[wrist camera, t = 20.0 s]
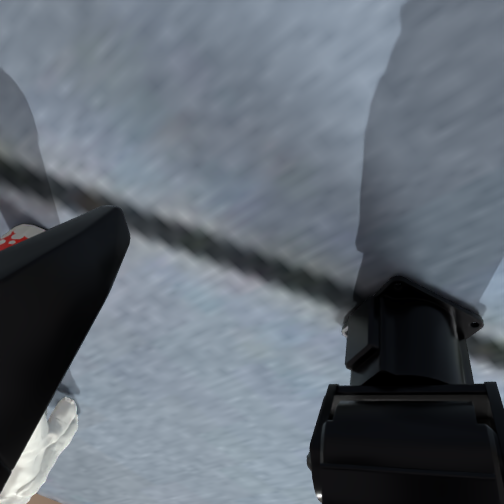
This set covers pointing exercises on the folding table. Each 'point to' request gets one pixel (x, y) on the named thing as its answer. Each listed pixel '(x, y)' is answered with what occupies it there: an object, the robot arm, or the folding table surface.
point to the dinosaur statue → (41, 453)
